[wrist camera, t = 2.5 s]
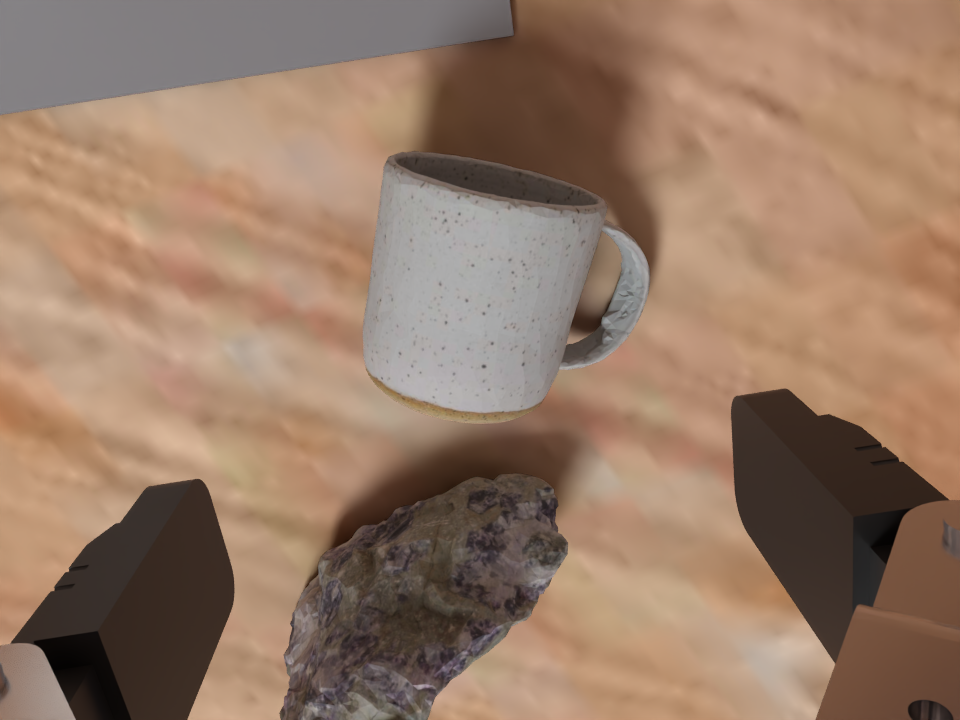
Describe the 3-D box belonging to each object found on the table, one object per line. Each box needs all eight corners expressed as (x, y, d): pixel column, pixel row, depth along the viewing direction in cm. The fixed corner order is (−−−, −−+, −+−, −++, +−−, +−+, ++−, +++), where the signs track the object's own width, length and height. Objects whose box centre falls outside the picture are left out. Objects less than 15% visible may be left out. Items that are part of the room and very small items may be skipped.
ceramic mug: (364, 345, 32) (344, 422, 25) (392, 142, 30) (379, 163, 23) (613, 383, 34) (662, 467, 26) (662, 190, 31) (731, 225, 24)
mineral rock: (547, 447, 34) (584, 586, 25) (578, 646, 38) (621, 834, 28) (257, 496, 35) (184, 653, 25) (315, 689, 38) (270, 890, 29)
